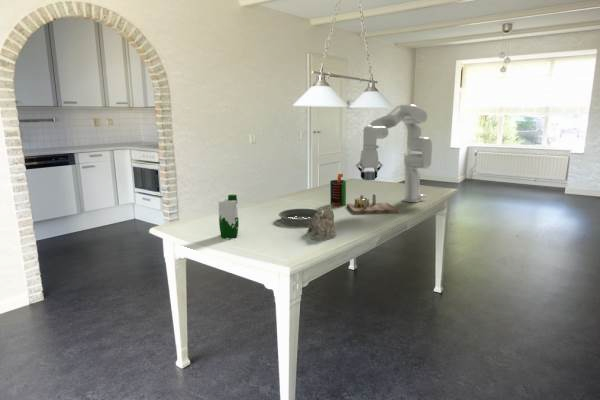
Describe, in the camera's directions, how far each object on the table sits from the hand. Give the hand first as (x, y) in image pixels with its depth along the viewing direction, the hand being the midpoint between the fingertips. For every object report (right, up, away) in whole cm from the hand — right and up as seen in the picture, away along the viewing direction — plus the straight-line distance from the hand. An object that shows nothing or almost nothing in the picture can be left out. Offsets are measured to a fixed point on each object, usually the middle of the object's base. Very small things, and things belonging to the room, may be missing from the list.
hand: (368, 178), depth 241 cm
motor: (-16, -16, +25) cm, 34 cm away
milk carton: (-75, -30, -43) cm, 91 cm away
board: (+3, -19, +9) cm, 21 cm away
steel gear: (0, -1, 0) cm, 1 cm away
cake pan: (-40, -25, -15) cm, 49 cm away
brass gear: (-2, -16, +12) cm, 20 cm away
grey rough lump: (-31, -30, -43) cm, 61 cm away
